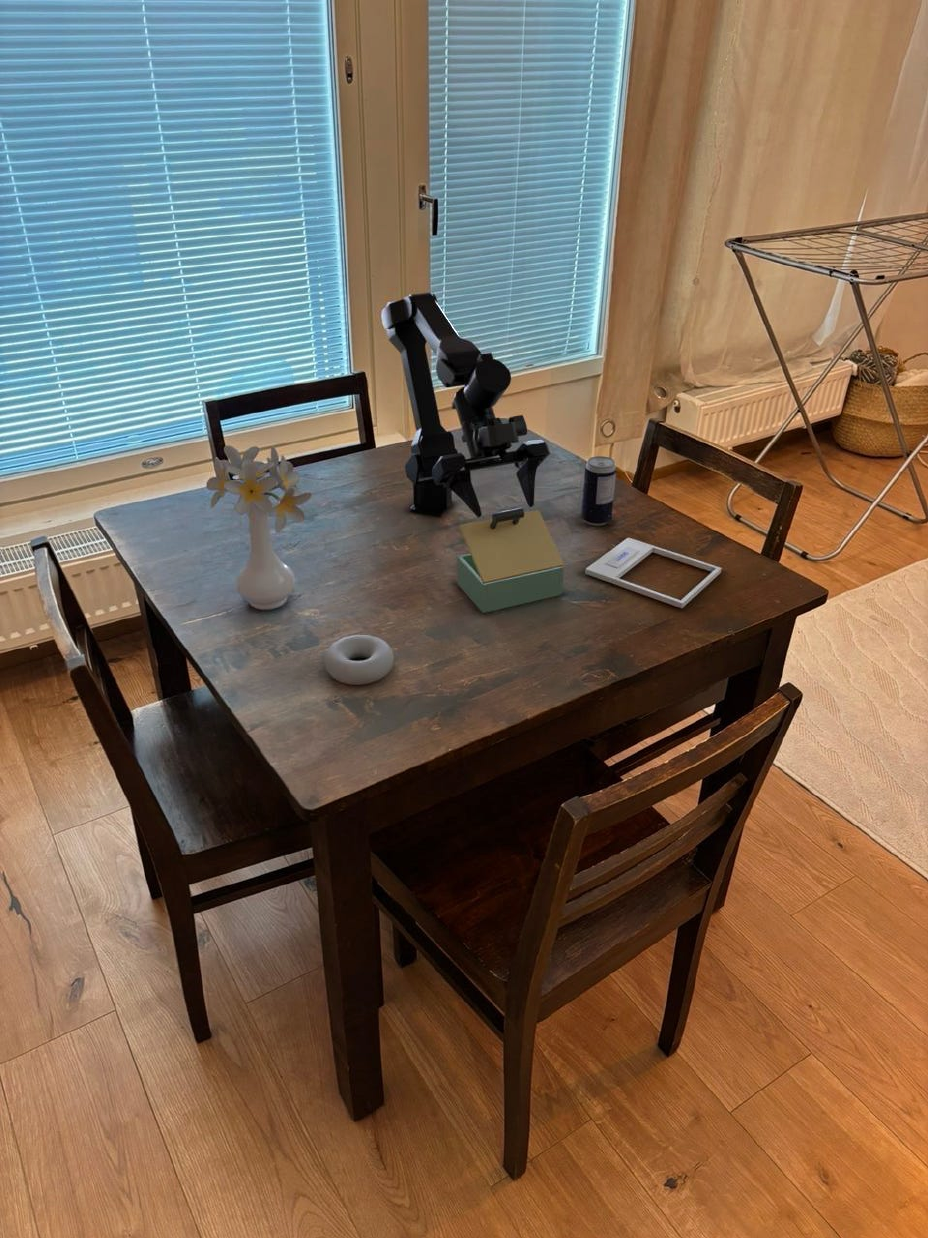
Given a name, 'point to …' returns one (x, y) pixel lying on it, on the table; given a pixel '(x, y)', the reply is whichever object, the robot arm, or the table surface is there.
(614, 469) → the beverage can
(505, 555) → the lunchbox lid
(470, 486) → the robot arm
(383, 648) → the donut
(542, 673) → the table surface
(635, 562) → the photo frame
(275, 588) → the flower vase
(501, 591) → the lunchbox
